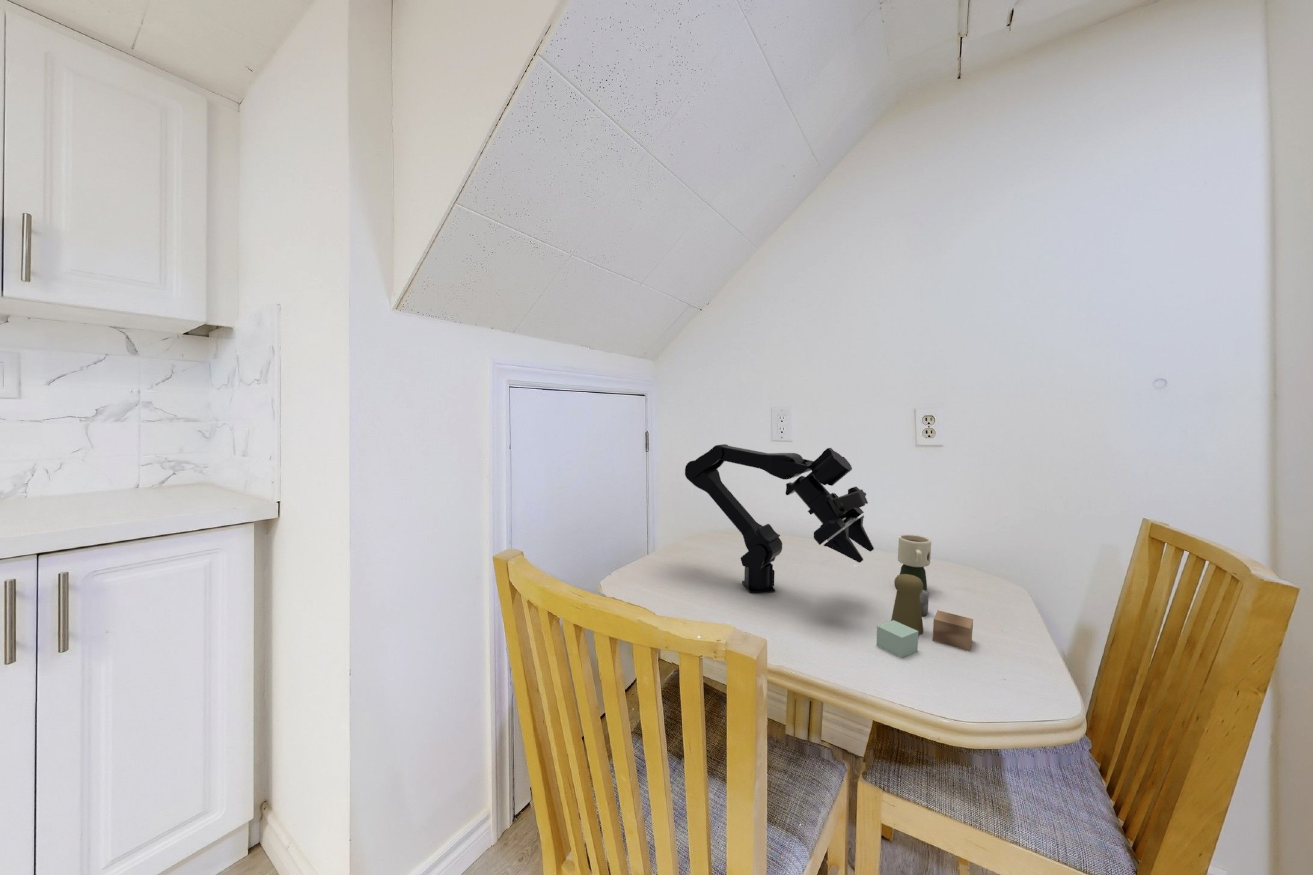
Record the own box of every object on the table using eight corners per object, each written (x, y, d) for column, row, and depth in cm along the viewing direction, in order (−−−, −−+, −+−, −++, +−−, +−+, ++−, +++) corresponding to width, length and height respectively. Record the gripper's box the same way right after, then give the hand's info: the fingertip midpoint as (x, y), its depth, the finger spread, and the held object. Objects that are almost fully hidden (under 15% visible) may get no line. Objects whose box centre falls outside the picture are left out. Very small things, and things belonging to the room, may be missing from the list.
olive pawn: (928, 636, 92) (930, 583, 91) (895, 633, 93) (897, 580, 92) (917, 622, 98) (919, 571, 97) (886, 619, 99) (888, 569, 98)
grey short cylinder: (912, 616, 100) (913, 596, 100) (897, 606, 105) (898, 587, 105) (933, 615, 101) (934, 595, 101) (917, 605, 106) (918, 586, 106)
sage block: (901, 658, 84) (902, 637, 84) (876, 645, 88) (877, 625, 88) (917, 651, 86) (918, 631, 86) (892, 639, 91) (893, 620, 91)
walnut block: (932, 641, 90) (933, 618, 90) (936, 631, 94) (937, 610, 94) (969, 651, 87) (970, 628, 86) (971, 641, 90) (973, 618, 90)
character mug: (934, 599, 109) (937, 546, 108) (901, 596, 111) (903, 543, 110) (922, 582, 119) (924, 533, 118) (892, 579, 121) (894, 531, 120)
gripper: (830, 481, 94) (888, 545, 88) (855, 471, 109) (906, 525, 103) (792, 513, 99) (843, 575, 93) (820, 499, 114) (866, 552, 108)
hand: (867, 555), depth 99 cm, fingers open, 9 cm apart
